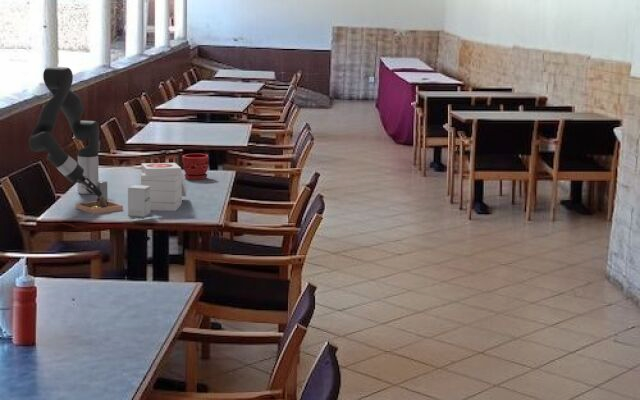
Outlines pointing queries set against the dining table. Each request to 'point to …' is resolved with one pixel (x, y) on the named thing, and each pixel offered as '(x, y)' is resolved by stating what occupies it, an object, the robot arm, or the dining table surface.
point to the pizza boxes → (164, 185)
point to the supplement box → (139, 200)
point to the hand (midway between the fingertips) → (96, 193)
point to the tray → (110, 208)
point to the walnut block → (88, 204)
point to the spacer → (103, 198)
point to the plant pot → (195, 166)
